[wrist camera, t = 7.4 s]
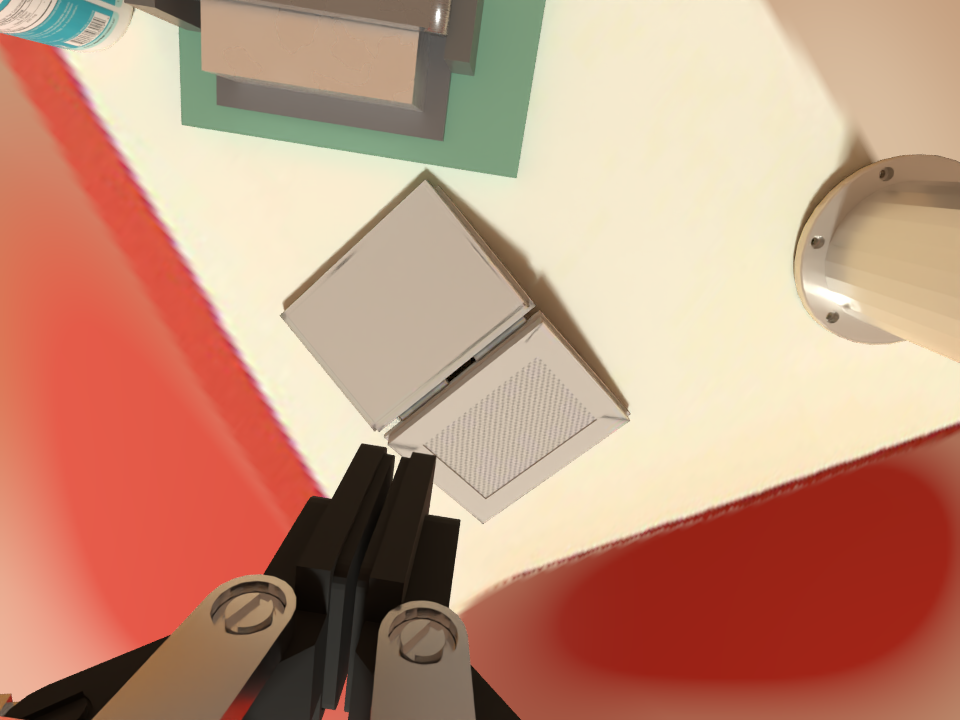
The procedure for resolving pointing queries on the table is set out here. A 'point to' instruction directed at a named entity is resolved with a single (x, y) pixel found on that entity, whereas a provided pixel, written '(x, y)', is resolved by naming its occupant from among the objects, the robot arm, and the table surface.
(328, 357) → the gadget
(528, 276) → the table surface
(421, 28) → the strap
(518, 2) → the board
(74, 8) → the pill bottle
